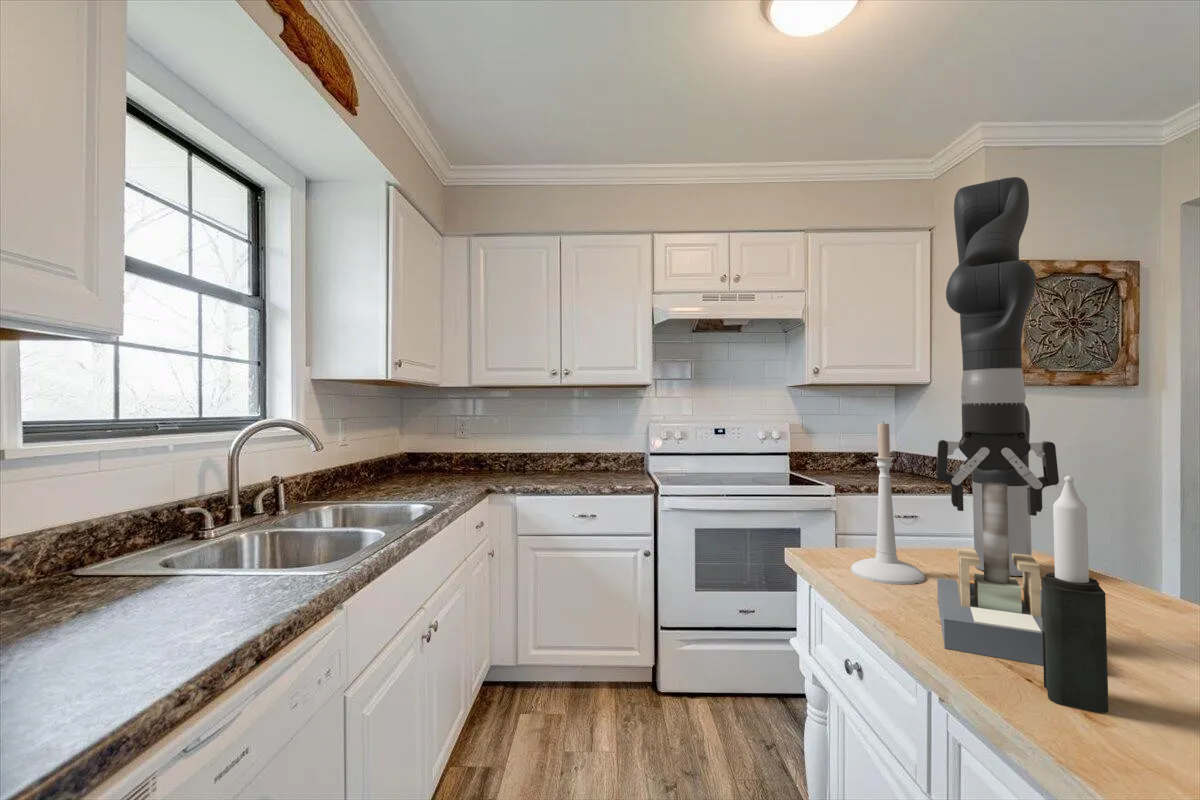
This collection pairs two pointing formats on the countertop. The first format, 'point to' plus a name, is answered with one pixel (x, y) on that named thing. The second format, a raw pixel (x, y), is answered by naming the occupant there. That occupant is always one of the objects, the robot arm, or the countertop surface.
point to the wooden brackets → (1023, 564)
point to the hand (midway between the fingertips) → (995, 512)
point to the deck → (988, 627)
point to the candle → (1073, 614)
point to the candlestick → (886, 529)
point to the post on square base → (996, 555)
